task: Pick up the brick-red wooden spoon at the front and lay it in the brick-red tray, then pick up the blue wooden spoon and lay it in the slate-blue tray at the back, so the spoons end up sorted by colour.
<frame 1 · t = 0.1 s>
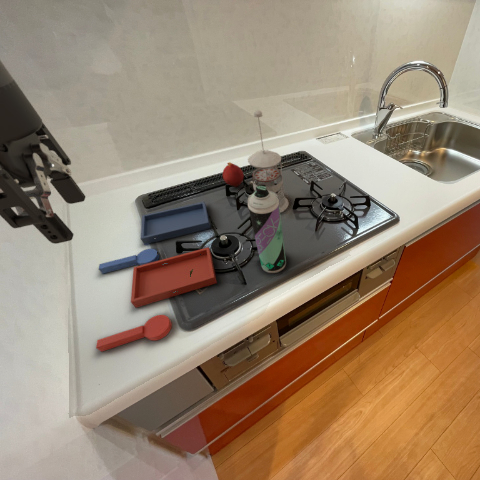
hand: (71, 219, 36), 23 cm above the worktop, tool pointing down, fingers open, 8 cm apart
red tray: (176, 278, 57), on the worktop
red spoon: (124, 340, 47), on the worktop
blue spoon: (121, 266, 59), on the worktop
onion: (236, 186, 82), on the worktop
blue tray: (177, 224, 69), on the worktop
french press: (272, 202, 76), on the worktop
spray can: (273, 264, 60), on the worktop
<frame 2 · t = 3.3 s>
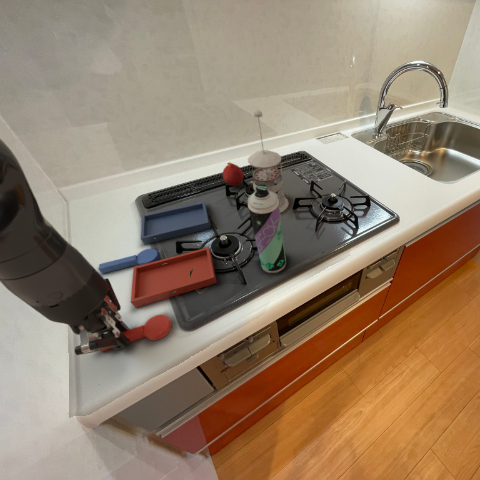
hand: (124, 339, 47), 0 cm above the worktop, tool pointing down, fingers closed on red spoon, 1 cm apart
red spoon: (124, 340, 47), on the worktop, touching gripper
everything else where it was.
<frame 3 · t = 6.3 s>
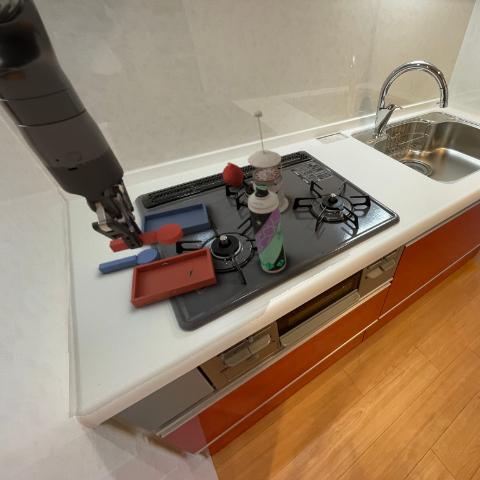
hand: (137, 243, 48), 12 cm above the worktop, tool pointing down, fingers closed on red spoon, 1 cm apart
red spoon: (136, 244, 48), point 12 cm above the worktop, touching gripper
everything else where it was.
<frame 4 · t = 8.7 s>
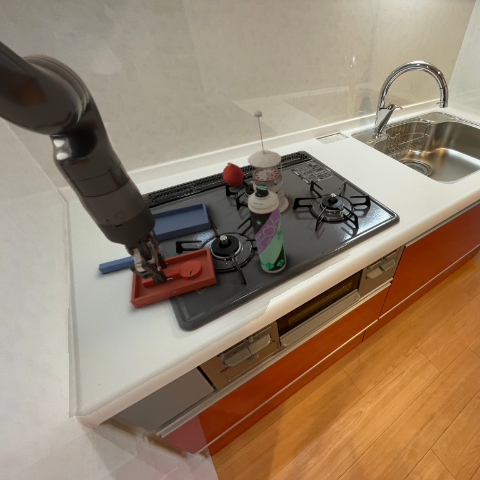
hand: (161, 274, 55), 2 cm above the worktop, tool pointing down, fingers open, 3 cm apart
red spoon: (163, 280, 56), point 1 cm above the worktop, touching red tray
everything else where it was.
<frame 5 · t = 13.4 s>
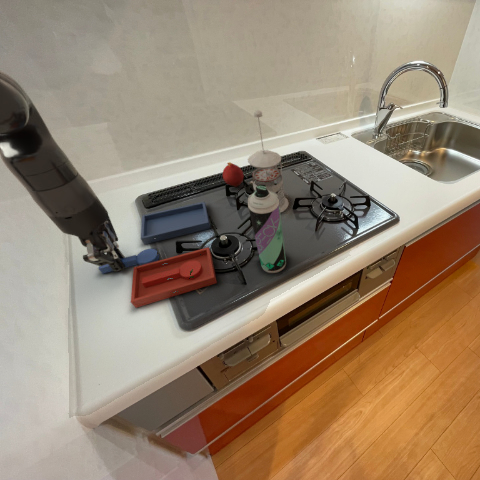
hand: (120, 265, 59), 0 cm above the worktop, tool pointing down, fingers closed on blue spoon, 1 cm apart
blue spoon: (121, 266, 59), on the worktop, touching gripper
everything else where it was.
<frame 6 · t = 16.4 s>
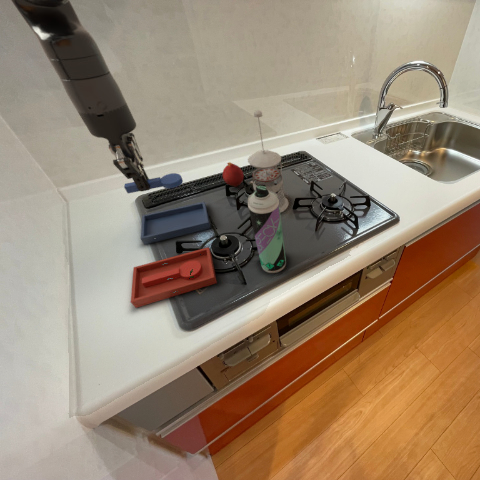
hand: (145, 187, 59), 12 cm above the worktop, tool pointing down, fingers closed on blue spoon, 1 cm apart
blue spoon: (145, 188, 60), point 12 cm above the worktop, touching gripper
everything else where it was.
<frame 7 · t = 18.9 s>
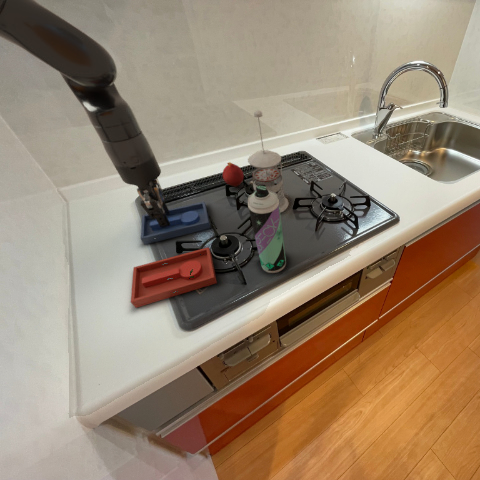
hand: (165, 220, 67), 2 cm above the worktop, tool pointing down, fingers open, 4 cm apart
blue spoon: (167, 225, 68), resting on blue tray
everything else where it was.
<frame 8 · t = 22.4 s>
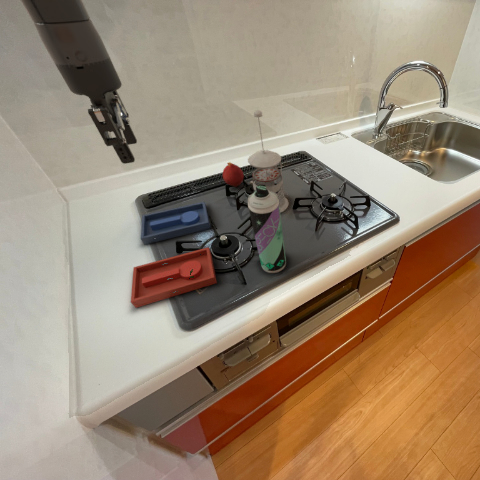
hand: (130, 152, 54), 20 cm above the worktop, tool pointing down, fingers open, 8 cm apart
nothing on the worktop moved.
at the end: red spoon inside the target area in the red tray (0.8 cm from its centre), point 0.5 cm above the red tray's base; blue spoon inside the target area in the blue tray (0.7 cm from its centre), point 0.5 cm above the blue tray's base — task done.
